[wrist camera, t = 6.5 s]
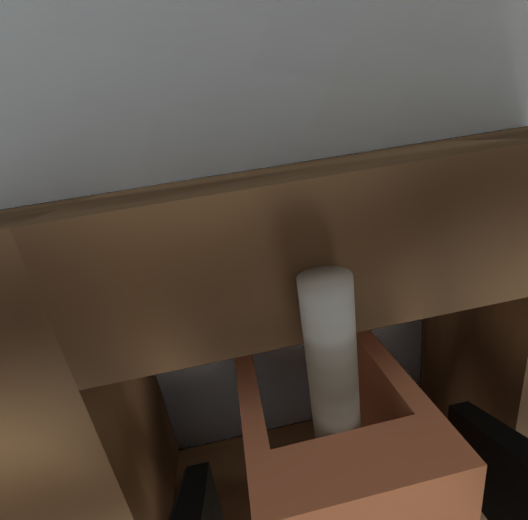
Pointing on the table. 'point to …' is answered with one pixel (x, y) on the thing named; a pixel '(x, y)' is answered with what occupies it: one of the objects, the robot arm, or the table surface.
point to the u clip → (364, 455)
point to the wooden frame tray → (250, 310)
